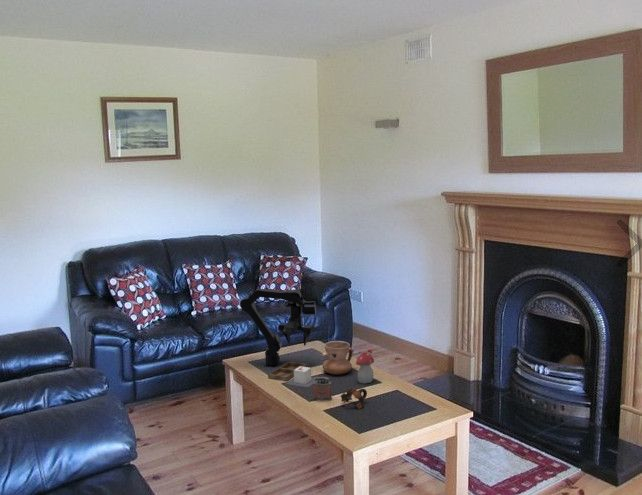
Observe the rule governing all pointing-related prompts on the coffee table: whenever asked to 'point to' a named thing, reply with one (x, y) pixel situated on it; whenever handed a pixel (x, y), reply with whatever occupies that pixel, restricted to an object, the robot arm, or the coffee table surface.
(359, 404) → the brown irregular piece
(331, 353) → the ceramic jug
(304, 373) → the letter cube
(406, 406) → the coffee table surface
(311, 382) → the pad
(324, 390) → the lighter
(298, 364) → the tray
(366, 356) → the decorative ornament
